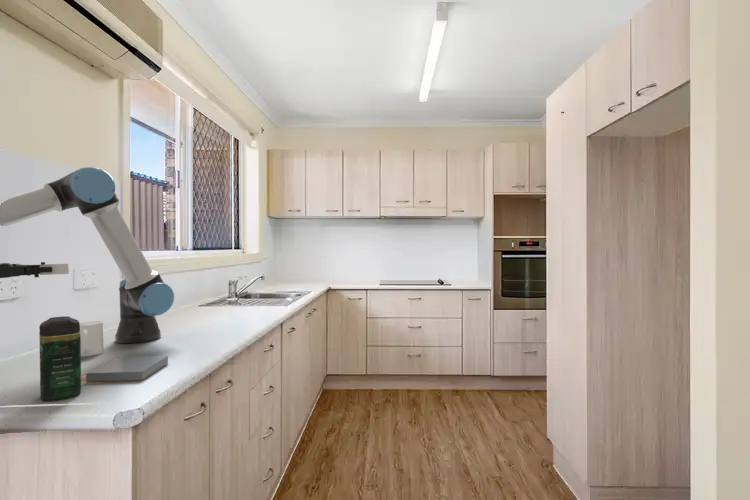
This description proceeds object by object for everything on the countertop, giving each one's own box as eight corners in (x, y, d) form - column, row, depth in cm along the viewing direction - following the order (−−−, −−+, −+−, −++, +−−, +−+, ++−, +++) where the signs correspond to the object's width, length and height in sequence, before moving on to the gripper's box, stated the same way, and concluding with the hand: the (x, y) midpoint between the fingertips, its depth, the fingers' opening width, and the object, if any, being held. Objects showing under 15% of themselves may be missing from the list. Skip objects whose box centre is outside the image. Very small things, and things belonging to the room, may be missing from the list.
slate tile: (118, 357, 129) (167, 355, 130) (118, 365, 129) (167, 363, 130) (85, 373, 113) (142, 371, 114) (86, 382, 113) (142, 380, 114)
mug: (99, 358, 139) (98, 325, 139) (68, 361, 136) (67, 328, 136) (105, 350, 150) (104, 320, 150) (76, 353, 147) (75, 322, 147)
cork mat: (105, 366, 130) (105, 364, 130) (168, 364, 131) (168, 363, 131) (65, 385, 112) (65, 384, 112) (139, 383, 113) (139, 381, 113)
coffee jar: (83, 398, 103) (81, 317, 103) (40, 405, 98) (38, 321, 98) (80, 387, 111) (78, 313, 110) (40, 394, 106) (38, 316, 106)
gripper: (-5, 283, 126) (81, 280, 127) (-46, 288, 113) (51, 285, 114) (-6, 256, 125) (80, 254, 127) (-47, 258, 112) (50, 255, 114)
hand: (66, 268), depth 120 cm, fingers closed
